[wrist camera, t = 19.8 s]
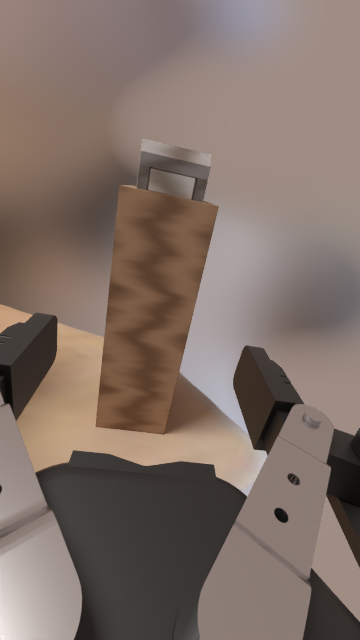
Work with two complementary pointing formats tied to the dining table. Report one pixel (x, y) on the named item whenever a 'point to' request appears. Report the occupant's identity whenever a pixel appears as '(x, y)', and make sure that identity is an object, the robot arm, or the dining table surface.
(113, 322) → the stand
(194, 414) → the dining table surface
